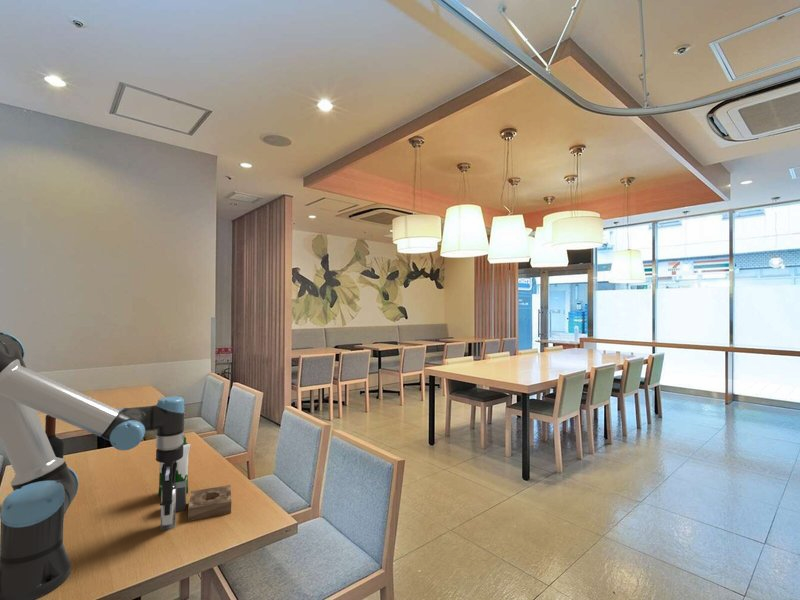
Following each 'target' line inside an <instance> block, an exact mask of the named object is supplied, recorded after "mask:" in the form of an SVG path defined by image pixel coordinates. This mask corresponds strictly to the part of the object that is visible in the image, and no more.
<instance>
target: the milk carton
mask: <svg viewBox="0 0 800 600" xmlns="http://www.w3.org/2000/svg"><path fill="white" fill-rule="evenodd" d="M182 445H183V457H182V458H181V459H179V460H177V461H176V462H177V468H176V475H175V483H176V482H183V481H186V494H188V493H189V481H188V480H189V479H188V477H189V473H188V472H189V454H190V449H191V445H192V444H190V443H187V436H186V437H184V438H183V444H182ZM163 464H165V463H162V462H161V463H160V462H159V470H158V471H159V475H158V477H159V479H158V480H159V482H158V494H157V495H158V497H160V498H161V494H162V484H163V482H162V467H163Z"/></svg>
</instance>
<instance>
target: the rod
mask: <svg viewBox="0 0 800 600" xmlns="http://www.w3.org/2000/svg"><path fill="white" fill-rule="evenodd" d="M160 499H161V500H160V503H162V494H161V497H160ZM172 501H173V515H172V524H168V525H163V526H162V508H163V506H162V505H161V506H160V531H171V530H172V529H174V528H175V527H176V484H175V483H173V492H172Z"/></svg>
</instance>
